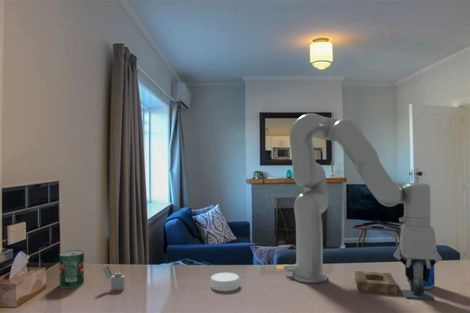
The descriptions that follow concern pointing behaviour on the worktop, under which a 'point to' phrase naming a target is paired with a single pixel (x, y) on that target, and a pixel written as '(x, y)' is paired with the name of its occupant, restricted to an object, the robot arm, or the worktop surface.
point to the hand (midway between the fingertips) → (417, 279)
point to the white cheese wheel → (225, 281)
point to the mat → (418, 295)
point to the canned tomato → (71, 268)
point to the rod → (417, 276)
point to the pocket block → (375, 282)
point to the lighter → (115, 279)
